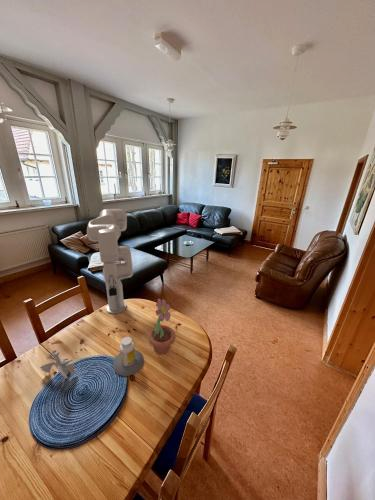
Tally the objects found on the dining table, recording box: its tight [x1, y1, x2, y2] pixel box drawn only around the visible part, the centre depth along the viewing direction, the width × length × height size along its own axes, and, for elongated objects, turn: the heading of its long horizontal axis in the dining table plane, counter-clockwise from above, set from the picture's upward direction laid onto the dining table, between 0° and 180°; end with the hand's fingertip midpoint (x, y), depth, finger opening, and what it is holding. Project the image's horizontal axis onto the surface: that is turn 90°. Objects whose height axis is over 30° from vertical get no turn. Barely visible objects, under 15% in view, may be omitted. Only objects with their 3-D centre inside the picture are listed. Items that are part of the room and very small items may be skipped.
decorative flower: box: [147, 298, 176, 355], centre depth 101 cm, size 15×14×30 cm
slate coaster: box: [112, 349, 144, 377], centre depth 99 cm, size 14×14×1 cm
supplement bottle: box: [119, 336, 136, 366], centre depth 96 cm, size 7×7×13 cm
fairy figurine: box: [39, 349, 78, 387], centre depth 88 cm, size 10×18×14 cm, turn 64°
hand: (112, 289), depth 97 cm, fingers open, 9 cm apart
